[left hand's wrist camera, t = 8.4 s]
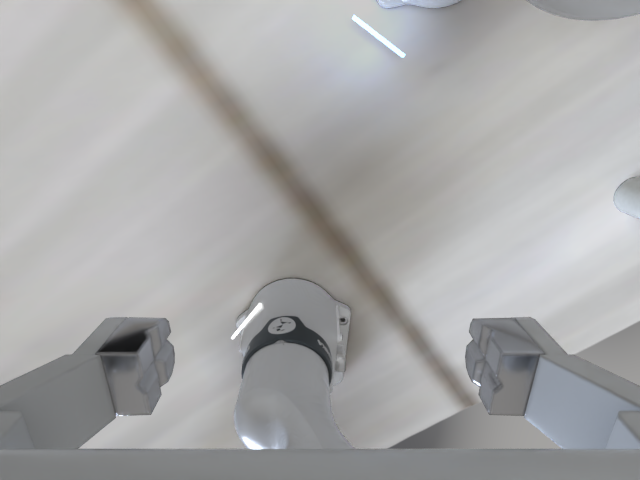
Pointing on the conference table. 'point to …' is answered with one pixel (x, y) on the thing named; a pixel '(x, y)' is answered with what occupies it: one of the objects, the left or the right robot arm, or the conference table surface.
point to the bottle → (629, 197)
